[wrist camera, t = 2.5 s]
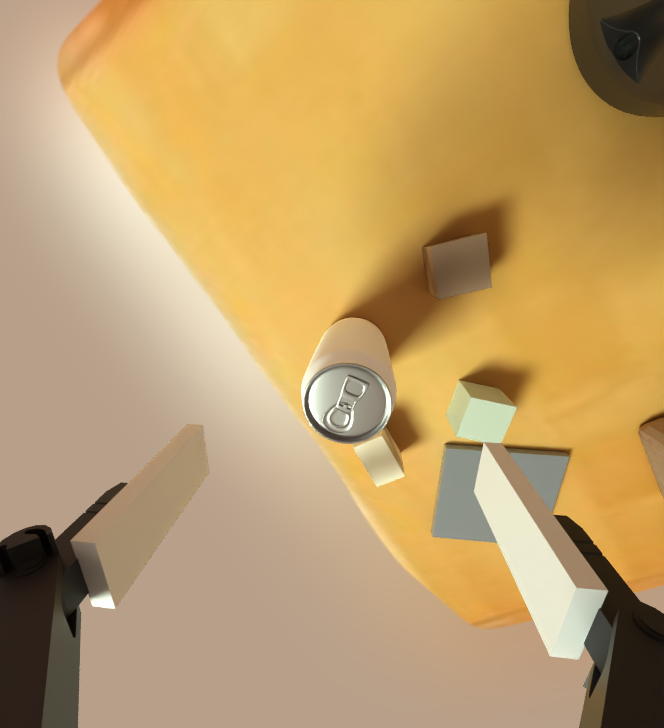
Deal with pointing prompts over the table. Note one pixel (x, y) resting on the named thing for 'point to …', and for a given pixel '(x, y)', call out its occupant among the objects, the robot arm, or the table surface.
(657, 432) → the wooden block
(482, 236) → the walnut block
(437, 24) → the table surface
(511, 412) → the sage painted cube
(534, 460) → the slate coaster
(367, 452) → the pale birch block
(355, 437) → the can
